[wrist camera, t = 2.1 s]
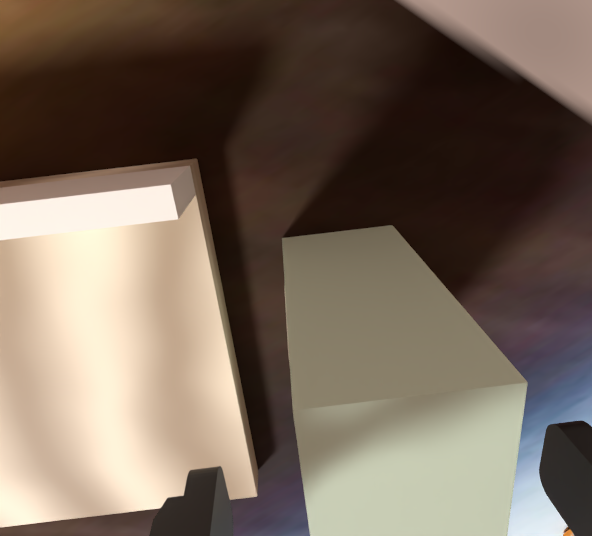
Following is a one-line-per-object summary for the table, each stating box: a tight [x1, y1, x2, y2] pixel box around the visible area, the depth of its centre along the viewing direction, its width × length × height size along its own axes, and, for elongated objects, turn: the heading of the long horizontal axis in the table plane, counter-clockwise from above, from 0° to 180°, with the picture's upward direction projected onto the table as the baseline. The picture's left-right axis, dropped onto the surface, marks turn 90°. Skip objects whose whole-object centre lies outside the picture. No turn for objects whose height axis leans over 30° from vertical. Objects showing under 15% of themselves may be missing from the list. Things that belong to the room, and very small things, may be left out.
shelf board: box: [0, 159, 258, 527], centre depth 17 cm, size 16×16×4 cm
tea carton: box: [282, 225, 527, 536], centre depth 14 cm, size 5×7×10 cm, turn 6°
